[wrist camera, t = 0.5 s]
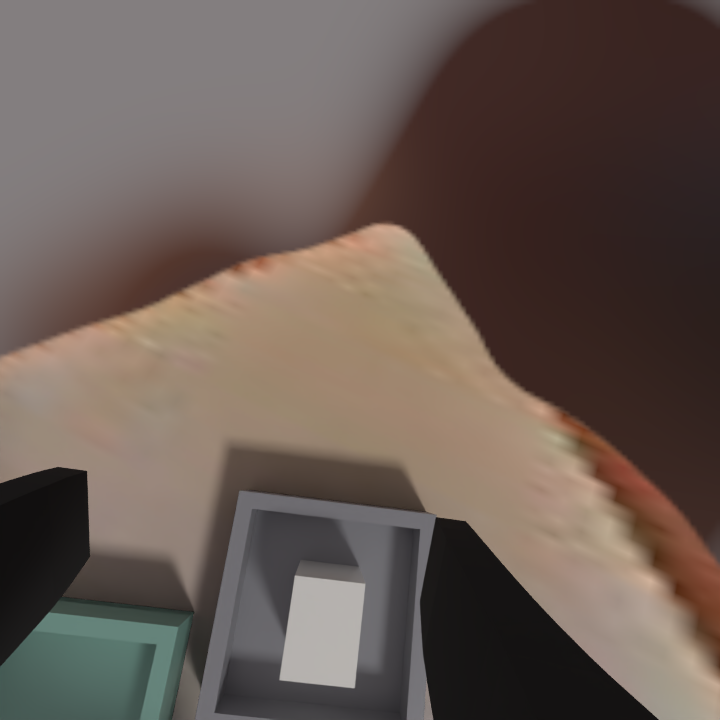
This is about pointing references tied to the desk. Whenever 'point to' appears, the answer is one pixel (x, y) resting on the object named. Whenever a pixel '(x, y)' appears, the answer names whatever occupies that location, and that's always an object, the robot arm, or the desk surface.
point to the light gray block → (324, 625)
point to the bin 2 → (273, 599)
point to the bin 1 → (97, 664)
